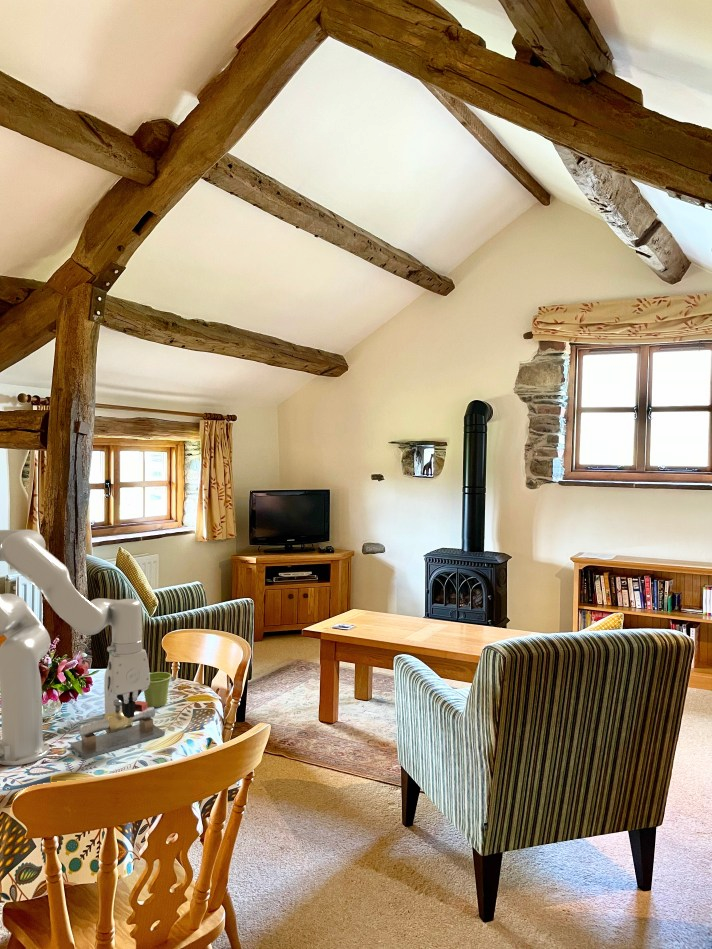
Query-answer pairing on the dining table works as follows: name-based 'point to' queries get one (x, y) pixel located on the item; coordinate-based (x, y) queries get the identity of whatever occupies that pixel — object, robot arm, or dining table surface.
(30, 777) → the dining table surface
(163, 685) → the plant pot
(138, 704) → the valve lever
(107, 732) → the stand
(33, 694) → the robot arm
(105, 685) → the milk bottle
